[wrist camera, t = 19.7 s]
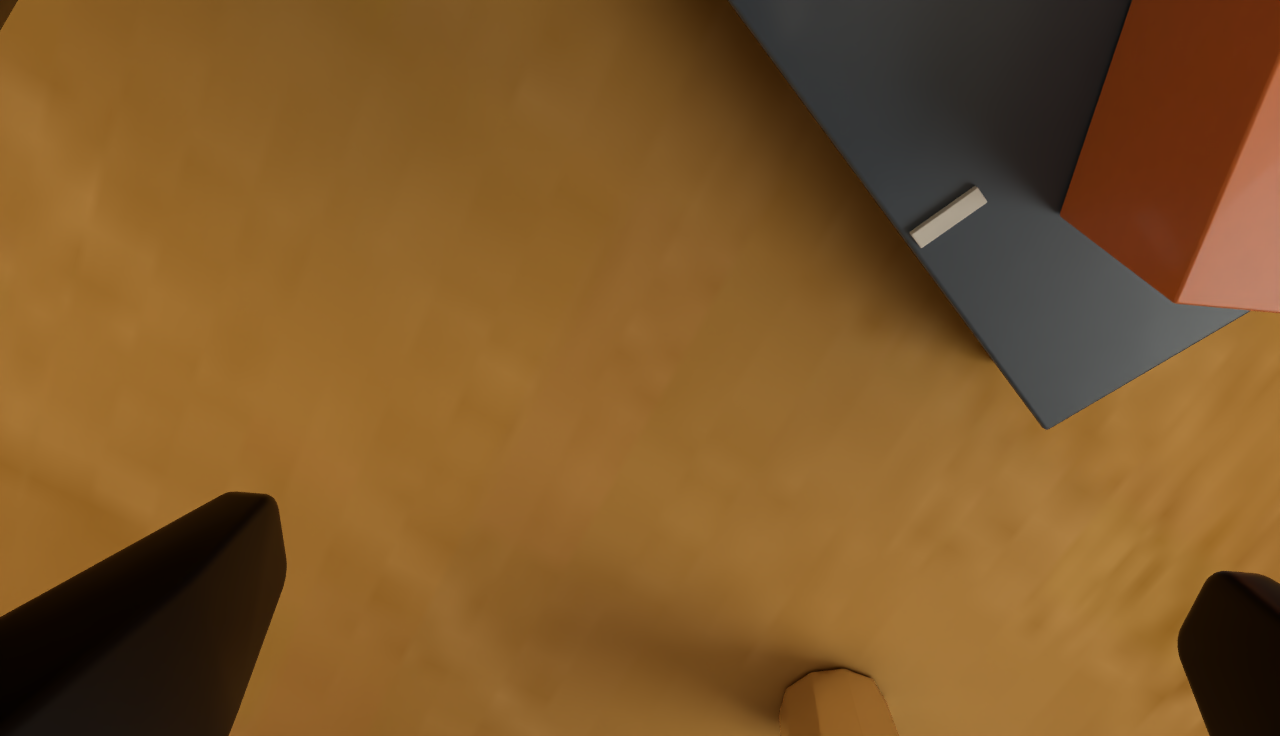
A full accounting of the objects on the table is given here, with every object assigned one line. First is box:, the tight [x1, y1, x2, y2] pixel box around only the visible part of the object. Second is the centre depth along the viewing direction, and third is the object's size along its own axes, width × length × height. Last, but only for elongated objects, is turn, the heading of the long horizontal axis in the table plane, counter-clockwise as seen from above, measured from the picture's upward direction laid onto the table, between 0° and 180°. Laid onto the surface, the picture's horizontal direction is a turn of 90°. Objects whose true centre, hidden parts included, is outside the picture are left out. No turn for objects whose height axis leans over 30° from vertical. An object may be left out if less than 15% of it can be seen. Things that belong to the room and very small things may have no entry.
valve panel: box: [728, 0, 1251, 430], centre depth 15 cm, size 13×10×3 cm
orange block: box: [1060, 0, 1280, 313], centre depth 12 cm, size 6×2×4 cm, turn 175°
